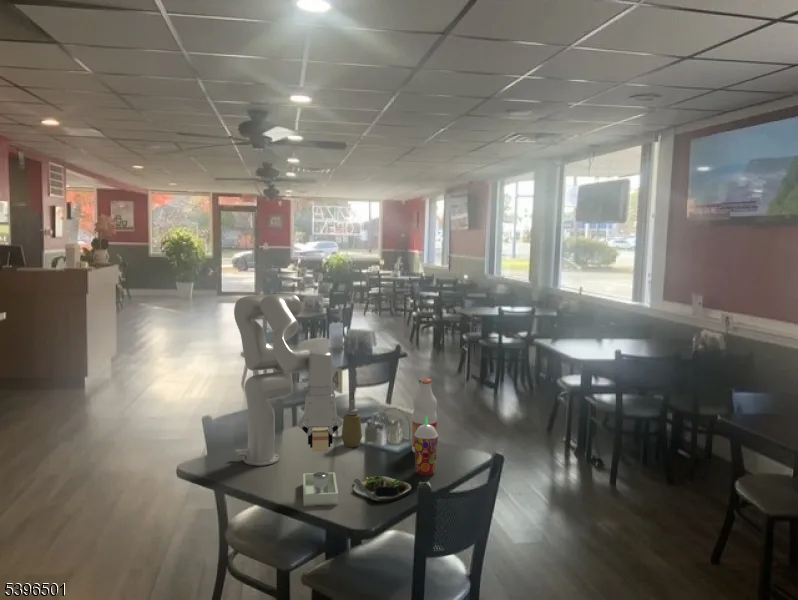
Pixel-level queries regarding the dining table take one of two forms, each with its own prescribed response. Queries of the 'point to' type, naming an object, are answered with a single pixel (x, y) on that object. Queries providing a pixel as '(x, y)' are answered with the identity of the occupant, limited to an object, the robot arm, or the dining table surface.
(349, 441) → the squeeze bottle
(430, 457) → the smoothie
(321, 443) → the cardboard box
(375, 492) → the salad plate
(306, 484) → the tote
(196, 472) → the dining table surface
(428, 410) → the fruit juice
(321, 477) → the steel can
